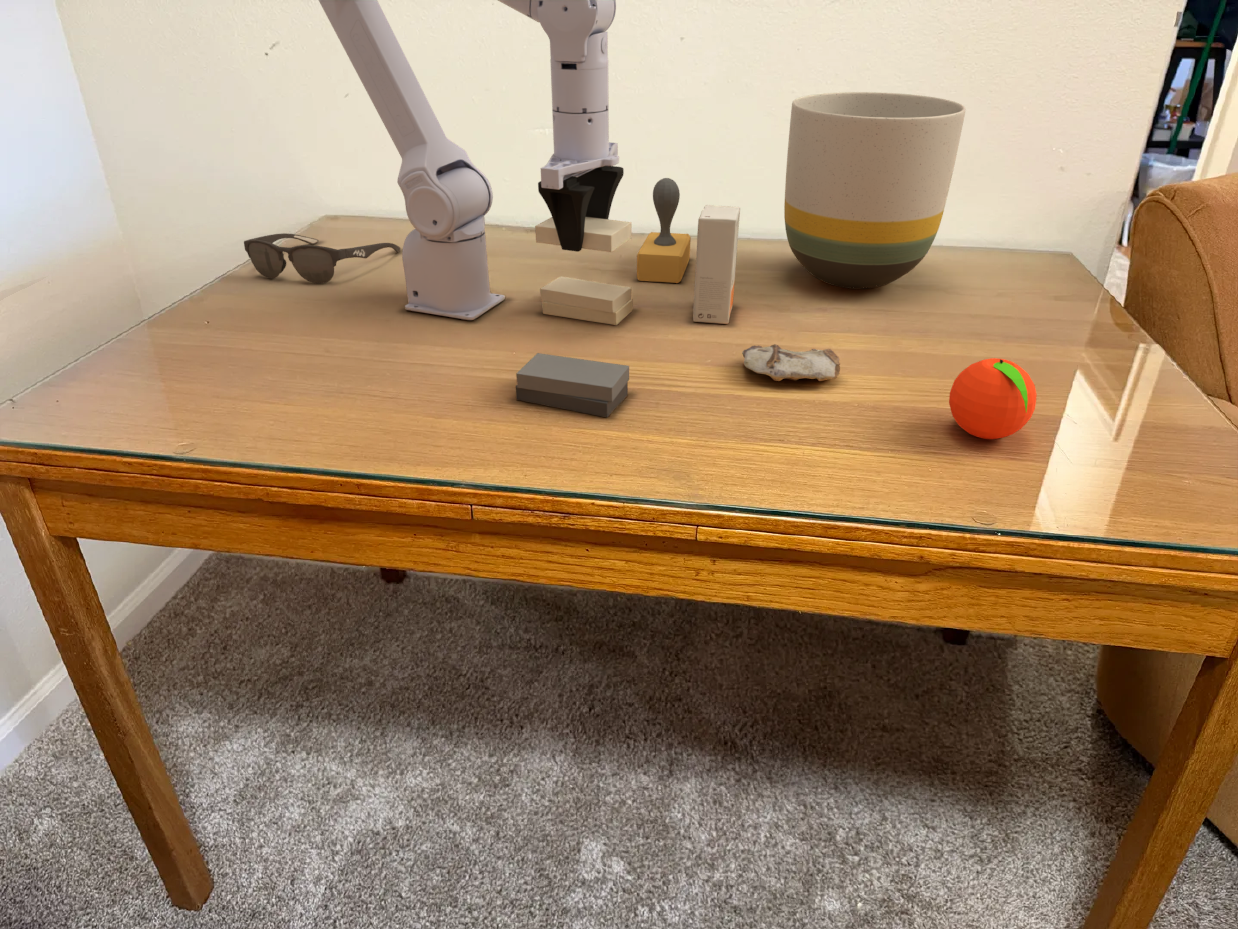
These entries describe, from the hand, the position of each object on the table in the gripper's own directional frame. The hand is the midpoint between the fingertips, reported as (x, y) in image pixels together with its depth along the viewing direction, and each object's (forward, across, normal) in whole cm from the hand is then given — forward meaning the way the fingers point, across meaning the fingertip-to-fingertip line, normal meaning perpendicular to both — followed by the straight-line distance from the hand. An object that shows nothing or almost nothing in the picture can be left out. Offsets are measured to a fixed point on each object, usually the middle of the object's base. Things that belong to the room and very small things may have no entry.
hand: (583, 242), depth 93 cm
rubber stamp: (+10, +21, -2) cm, 23 cm away
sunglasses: (+10, +6, +42) cm, 44 cm away
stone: (+10, -5, -25) cm, 27 cm away
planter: (+10, +26, -26) cm, 38 cm away
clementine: (+10, -10, -44) cm, 46 cm away
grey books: (+9, -18, -7) cm, 21 cm away
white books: (+9, +3, +1) cm, 10 cm away
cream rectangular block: (0, 0, 0) cm, 0 cm away
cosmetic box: (+10, +8, -13) cm, 18 cm away
